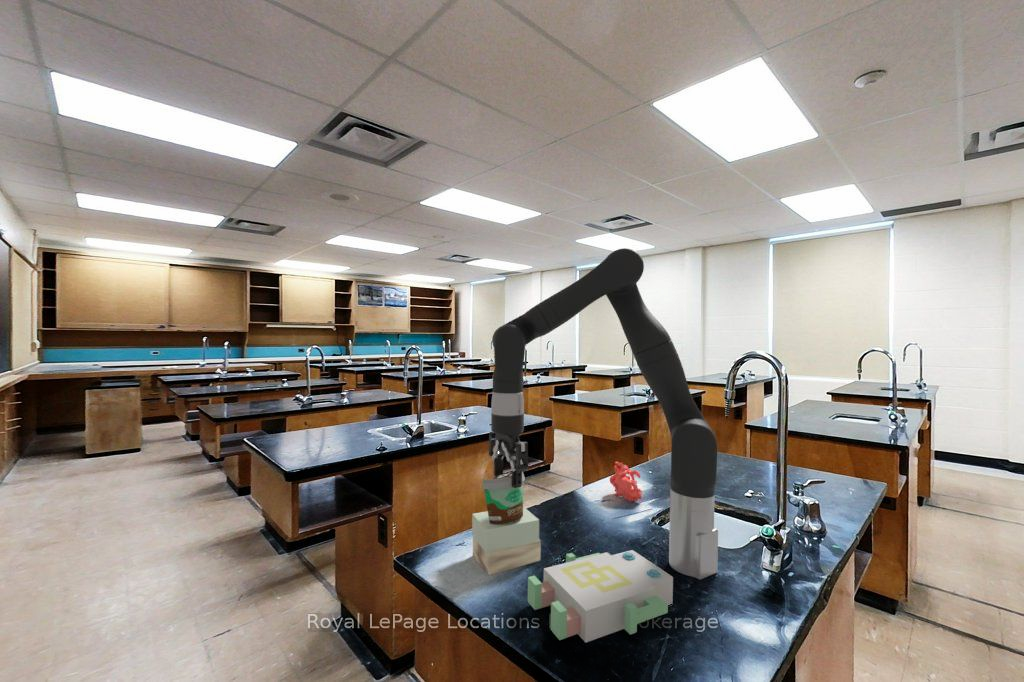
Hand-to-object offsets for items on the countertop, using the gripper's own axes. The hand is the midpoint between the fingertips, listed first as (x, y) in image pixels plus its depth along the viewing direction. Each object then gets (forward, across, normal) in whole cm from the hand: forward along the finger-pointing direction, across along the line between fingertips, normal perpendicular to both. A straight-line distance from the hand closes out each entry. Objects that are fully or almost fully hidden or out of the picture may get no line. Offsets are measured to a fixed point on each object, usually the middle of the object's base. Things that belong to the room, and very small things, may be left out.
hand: (507, 481), depth 98 cm
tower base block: (+18, 0, 0) cm, 18 cm away
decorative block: (+19, -23, -8) cm, 31 cm away
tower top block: (+13, 0, 0) cm, 13 cm away
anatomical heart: (+18, +14, -52) cm, 57 cm away
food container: (+8, -2, -1) cm, 8 cm away
